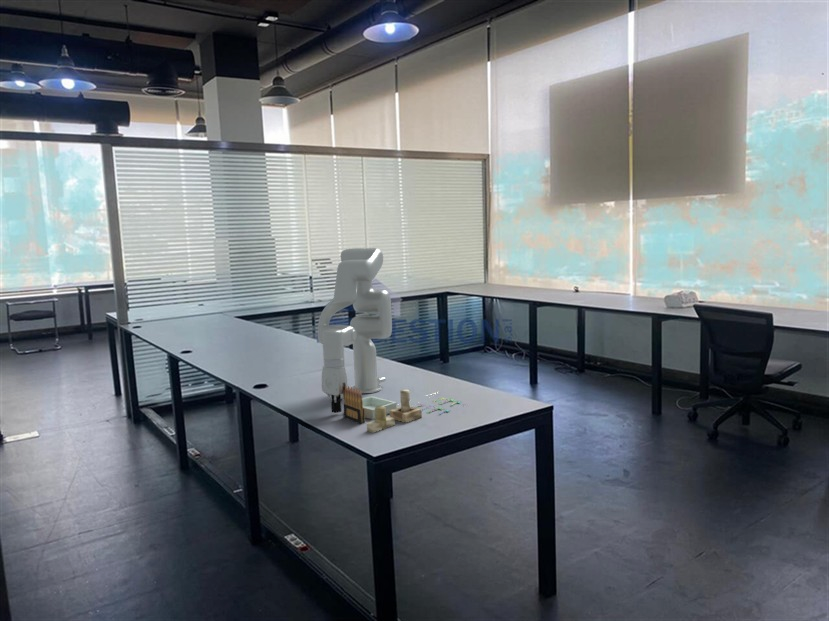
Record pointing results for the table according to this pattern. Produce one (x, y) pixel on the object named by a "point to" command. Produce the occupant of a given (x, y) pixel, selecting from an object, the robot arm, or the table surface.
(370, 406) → the tray
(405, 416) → the square wooden box
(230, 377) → the table surface
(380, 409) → the bench dog
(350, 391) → the ammunition clip
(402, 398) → the dowel
